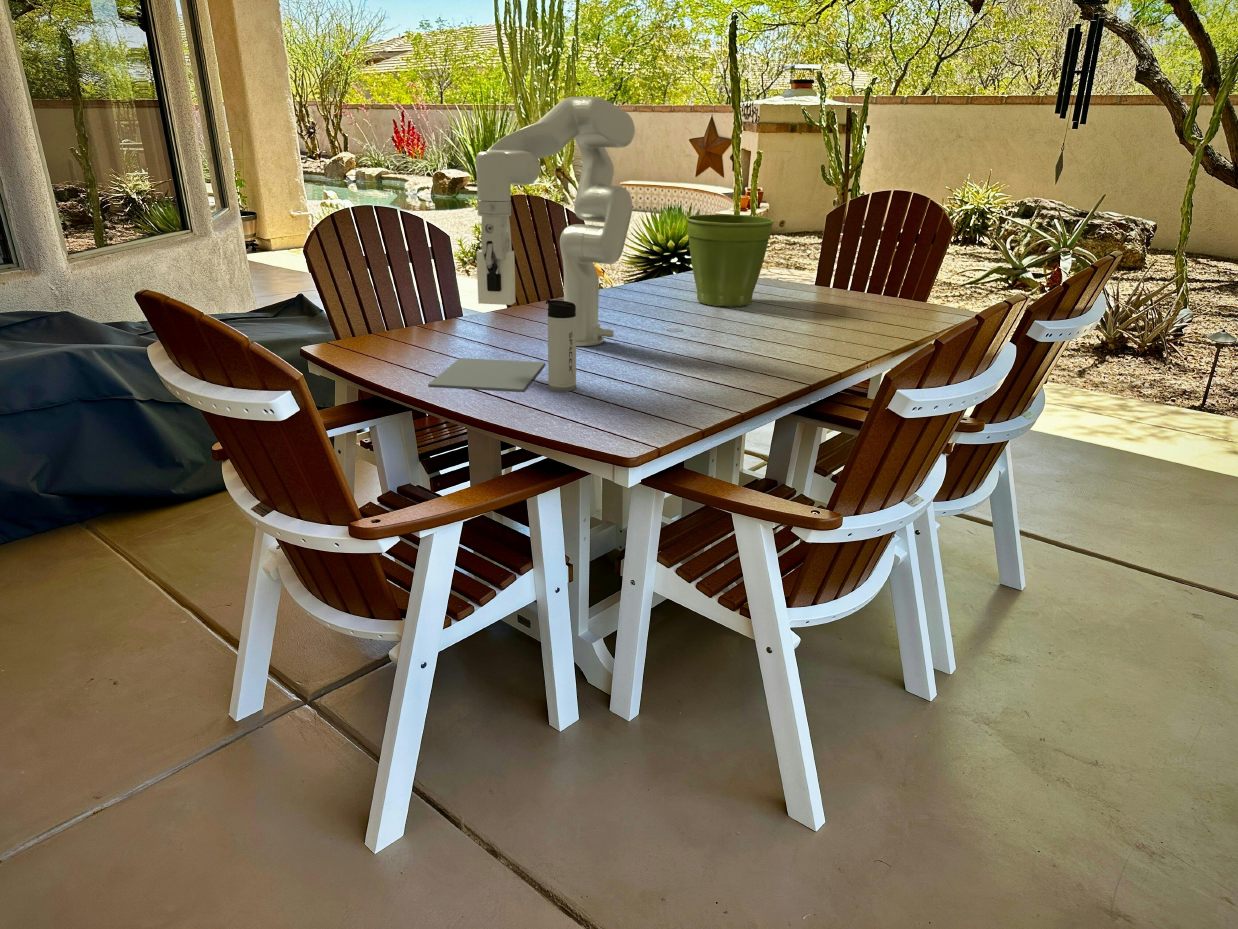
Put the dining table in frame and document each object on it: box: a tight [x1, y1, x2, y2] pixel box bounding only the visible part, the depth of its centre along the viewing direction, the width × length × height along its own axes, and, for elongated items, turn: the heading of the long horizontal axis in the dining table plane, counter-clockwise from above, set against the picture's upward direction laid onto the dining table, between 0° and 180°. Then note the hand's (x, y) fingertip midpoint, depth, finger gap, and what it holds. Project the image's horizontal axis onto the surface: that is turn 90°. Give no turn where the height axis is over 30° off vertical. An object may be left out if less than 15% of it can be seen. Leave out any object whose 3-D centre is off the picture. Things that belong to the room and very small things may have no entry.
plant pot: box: [685, 214, 775, 307], centre depth 281 cm, size 30×30×29 cm
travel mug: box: [545, 299, 577, 393], centre depth 181 cm, size 6×7×20 cm
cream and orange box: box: [475, 249, 516, 306], centre depth 191 cm, size 8×4×12 cm, turn 83°
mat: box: [428, 357, 546, 392], centre depth 194 cm, size 22×24×1 cm
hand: (497, 288), depth 192 cm, fingers closed on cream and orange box, 4 cm apart
